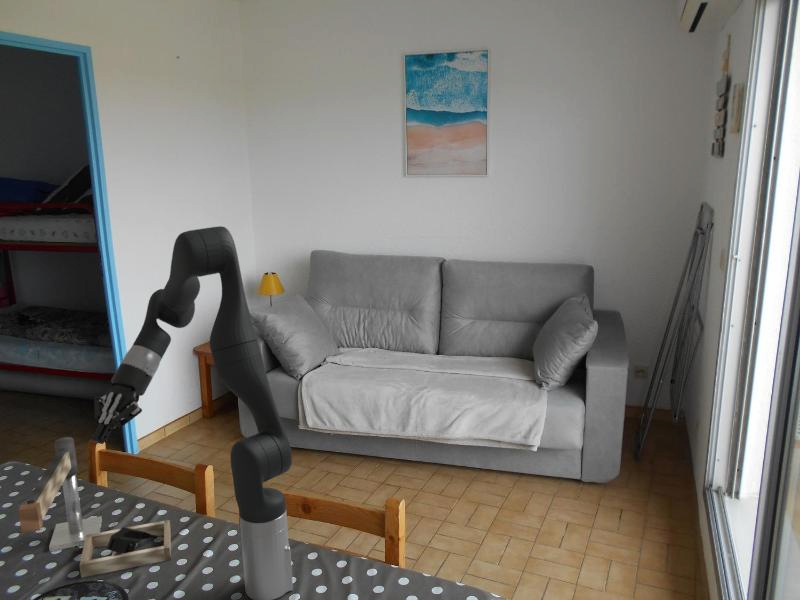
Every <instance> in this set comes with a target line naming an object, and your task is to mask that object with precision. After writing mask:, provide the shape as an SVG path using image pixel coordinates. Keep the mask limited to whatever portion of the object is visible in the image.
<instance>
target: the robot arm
mask: <svg viewBox="0 0 800 600" xmlns="http://www.w3.org/2000/svg"><path fill="white" fill-rule="evenodd" d="M171 255H172V256H171V260H170V261H171V263H170V271H169V278H168V280H167V282H166V284H165V285H164V287H163V288H160V289H157V290H156V291H154V292H153V293H152V294H151V296H150V298H149V300H148V303H147V309H146V313H145V318H144V321H143V324H142V327H141V329H140V331H139V333H138V335H137V336H136V338H135V340H134V341H133V344H132V345H131V347H130V349H128V351H127V352H126V354H125V356H124V357H123V359H122V361H121V363H120V364H119V366H118V368H117V370H116V371H115V373H114V374H113V376H112V377H111V383H112V384H111V387H110V388H109V389H108V390H107V391H106V393H105V394H104V395H103V396H101V397H100V396H99V395H97V396H95V397H94V399H93V402H94V403H93V404H94V406H93V407H94V408H93V409H94V419H95V420H97V421H98V425H97V426H96V429H95V430H94V433H93V434H92V437H91V440H92V441H93V442H94V443H97V444H101V445H103V444H104V443H105V442H106V441H107V440H108V438H109V436H110V435H111V432H112V430H114V429H116V427H117V428H122V427H124V426H125V425H126V424H128V423H129V422H130V421H132V420H133V419H134V418H135V417H137V416H138V415H139V414H141V413H142V412H143V409H142V408H141V407H140V406H139V404H138V402H139V401H140V397H141V396H144V395H145V393H146V391H147V389H148V387H149V385H150V384H151V382H152V380H153V378H154V376H155V375H156V372H157V370H158V369H159V366H160V363H161V361H162V359H163V358H164V356H165V353H166V352H167V350H168V348H169V346H170V344H171V342H172V338H171V335H170V334H169V333H168V332H167V331H166V330H165V329H163V328H162V327H161V326H160V325H159V323H158V320H159V321H161V322H163V323H166V324H167V325H170V326H172V327H174V328H176V329H182V328H186V327H187V326H188V325H189V324H190V323H192V320H193V318H194V315H195V312H196V303H195V301H196V299H197V298H198V295H199V294H200V290H201V283H200V280H199V277H200V278H201V277H204V276H211V275H216V274H219V276H220V277H219V278H220V282H221V299H220V303H219V308H218V310H217V314H216V316H215V319H214V323H213V326H212V329H211V332H210V337H209V348H210V351H211V357H212V359H213V364H214V368H215V371H216V374H217V376H218V378H219V379H220V381H221V382H222V383H223V384H224V386H225V387H226V388H228V390H230V392H232V393H233V394H234V395H235V396H236V397H238V399H240V401H241V402H242V403H243V404H244V405H245V406H246V407H247V409H248V410H249V411H250V413H251V415H252V417H253V420H254V423H255V425H256V429H257V433H256V434H252V435H250V436H248V437H245V438H243V439H240V440H238V441H236V442H235V443H234V444H233V445H232V448H231V450H230V467H231V469H230V470H231V474H232V482H233V489H234V496H235V501H236V504H237V508H238V513H239V515H238V516H239V526H240V539H241V540H240V541H241V551H242V552H241V553H242V566H243V576H244V579H243V581H244V589H245V590H244V591H245V593H246V595H247V596H248V597H249V598H250V599H251V600H277V599H278V598H280V597H283V596H284V595H285V594H286V593H288V592H292V591H293V590H294V586H293V585H294V584H293V570H292V569H293V567H292V554H291V547H290V542H289V531H288V529H289V528H288V516H287V514H288V513H287V501H286V500H287V499H286V496H285V494H284V493H283V492H282V491H281V490H279V489H276V488H272V487H264V485H263V484H264V483H265V482H268V481H270V480H272V479H274V478H276V477H279V476H281V475H283V474H285V473H287V472H288V471H289V470H290V468H291V466H292V463H293V454H292V447H291V445H290V440H289V438H288V435H287V432H286V429H285V426H284V424H283V422H282V419H281V416H280V413H279V410H278V408H277V405H276V402H275V399H274V397H273V394H272V391H271V387H270V383H269V380H268V376H267V372H266V368H265V364H264V359H263V354H262V350H261V348H260V344H259V340H258V336H257V333H256V331H255V326H254V324H253V320H252V317H251V313H250V310H249V306H248V301H247V297H246V294H245V288H244V283H243V279H242V272H241V266H240V263H239V262H240V261H239V257H238V253H237V248H236V243H235V241H234V238H233V236H232V234H231V232H230V231H229V229H228V228H227V227H225V226H222V225H221V226H212V227H205V228H198V229H191V230H187V231H184V232H181V233H179V235H178V236H177V237H176V239H175V241H174V245H173V249H172V254H171Z"/></svg>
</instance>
